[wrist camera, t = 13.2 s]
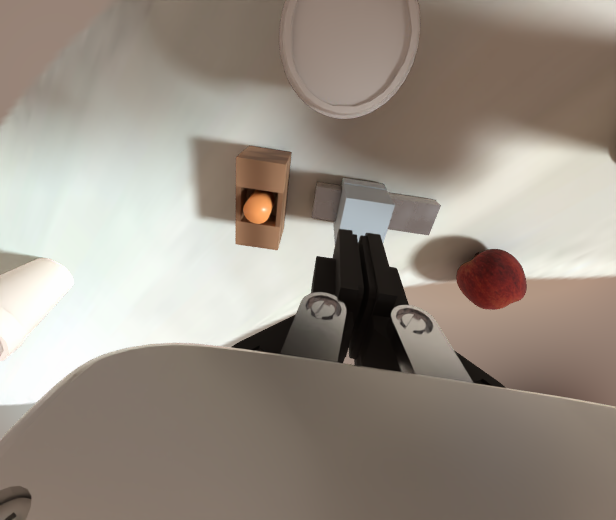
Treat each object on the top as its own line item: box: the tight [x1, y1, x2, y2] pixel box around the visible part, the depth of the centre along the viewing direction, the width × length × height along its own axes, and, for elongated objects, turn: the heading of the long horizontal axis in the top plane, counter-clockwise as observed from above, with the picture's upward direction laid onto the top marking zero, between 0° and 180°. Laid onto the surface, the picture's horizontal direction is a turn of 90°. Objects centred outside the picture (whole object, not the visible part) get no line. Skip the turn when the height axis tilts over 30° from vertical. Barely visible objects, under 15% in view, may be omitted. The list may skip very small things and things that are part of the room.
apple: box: [456, 249, 527, 309], centre depth 37 cm, size 7×8×8 cm
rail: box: [312, 182, 441, 235], centre depth 36 cm, size 15×4×2 cm, turn 82°
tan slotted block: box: [236, 146, 292, 250], centre depth 34 cm, size 5×10×6 cm, turn 172°
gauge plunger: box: [243, 189, 275, 224], centre depth 32 cm, size 3×3×4 cm
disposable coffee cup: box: [279, 0, 421, 119], centre depth 24 cm, size 10×10×12 cm
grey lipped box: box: [334, 178, 395, 244], centre depth 34 cm, size 5×6×7 cm
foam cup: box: [0, 258, 74, 361], centre depth 40 cm, size 10×9×13 cm
